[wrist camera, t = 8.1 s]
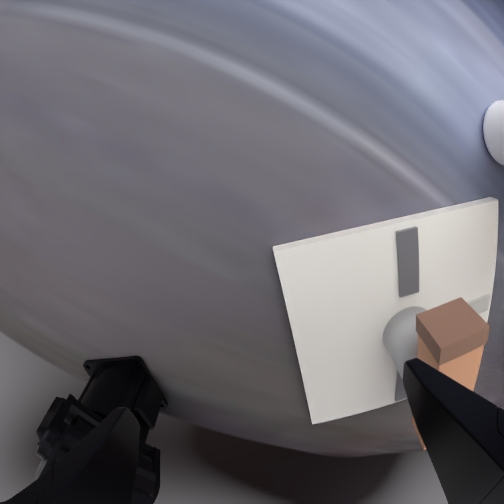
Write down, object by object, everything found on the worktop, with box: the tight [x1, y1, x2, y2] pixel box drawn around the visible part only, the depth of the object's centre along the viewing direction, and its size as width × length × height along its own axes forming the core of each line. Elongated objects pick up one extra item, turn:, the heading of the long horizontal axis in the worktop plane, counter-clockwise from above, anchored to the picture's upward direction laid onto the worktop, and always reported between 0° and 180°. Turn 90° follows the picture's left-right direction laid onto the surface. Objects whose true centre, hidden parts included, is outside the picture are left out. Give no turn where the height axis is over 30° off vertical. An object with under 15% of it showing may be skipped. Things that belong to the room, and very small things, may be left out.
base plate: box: [273, 197, 498, 424], centre depth 21 cm, size 18×18×5 cm
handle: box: [412, 297, 490, 450], centre depth 16 cm, size 11×3×4 cm, turn 17°
